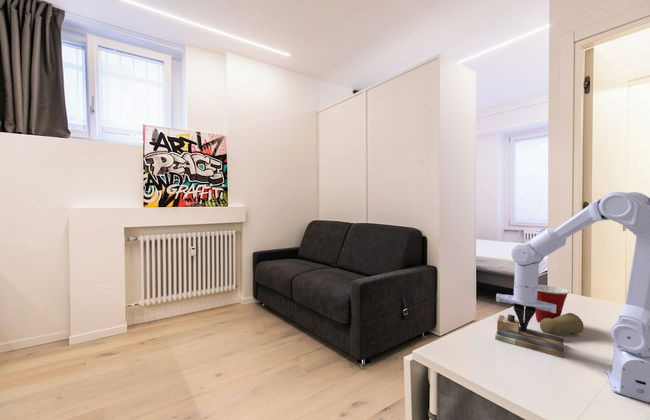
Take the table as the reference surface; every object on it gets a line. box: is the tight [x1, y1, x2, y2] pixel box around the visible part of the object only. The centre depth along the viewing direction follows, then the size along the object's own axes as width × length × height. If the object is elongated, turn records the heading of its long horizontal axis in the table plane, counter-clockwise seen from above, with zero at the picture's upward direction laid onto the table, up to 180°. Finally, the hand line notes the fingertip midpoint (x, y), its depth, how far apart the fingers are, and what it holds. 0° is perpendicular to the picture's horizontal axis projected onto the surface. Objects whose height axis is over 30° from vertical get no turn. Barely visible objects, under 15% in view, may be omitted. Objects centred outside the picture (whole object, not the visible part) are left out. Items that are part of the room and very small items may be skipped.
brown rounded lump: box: [539, 312, 585, 336], centre depth 91 cm, size 6×6×11 cm
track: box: [494, 315, 565, 359], centre depth 86 cm, size 16×9×5 cm, turn 52°
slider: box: [502, 314, 520, 334], centre depth 89 cm, size 4×4×5 cm
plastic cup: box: [534, 284, 570, 324], centre depth 99 cm, size 11×11×12 cm
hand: (523, 330), depth 87 cm, fingers closed
